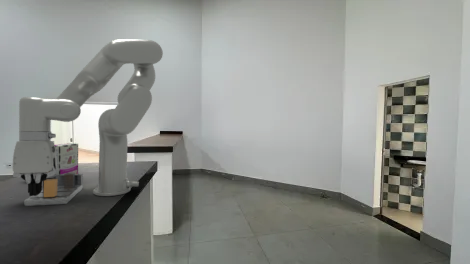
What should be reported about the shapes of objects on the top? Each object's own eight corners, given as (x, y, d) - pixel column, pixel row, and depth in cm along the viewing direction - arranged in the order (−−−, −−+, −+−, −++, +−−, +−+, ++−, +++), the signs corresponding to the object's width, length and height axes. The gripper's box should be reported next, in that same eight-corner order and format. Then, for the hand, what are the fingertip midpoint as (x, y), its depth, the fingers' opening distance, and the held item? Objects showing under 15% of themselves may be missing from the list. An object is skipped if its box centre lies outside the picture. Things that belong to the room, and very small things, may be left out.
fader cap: (57, 194, 78) (57, 178, 77) (54, 196, 75) (54, 180, 75) (46, 194, 77) (47, 179, 76) (43, 197, 74) (44, 180, 74)
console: (82, 188, 93) (83, 170, 93) (66, 203, 76) (67, 181, 76) (49, 189, 89) (49, 171, 89) (24, 206, 72) (24, 183, 72)
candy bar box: (67, 179, 105) (68, 142, 105) (78, 180, 105) (79, 143, 105) (47, 186, 94) (47, 145, 94) (59, 186, 94) (60, 145, 93)
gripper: (67, 136, 80) (66, 190, 81) (12, 135, 75) (12, 192, 76) (59, 138, 73) (58, 196, 74) (-3, 137, 68) (-3, 200, 69)
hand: (35, 194), depth 75 cm, fingers closed
